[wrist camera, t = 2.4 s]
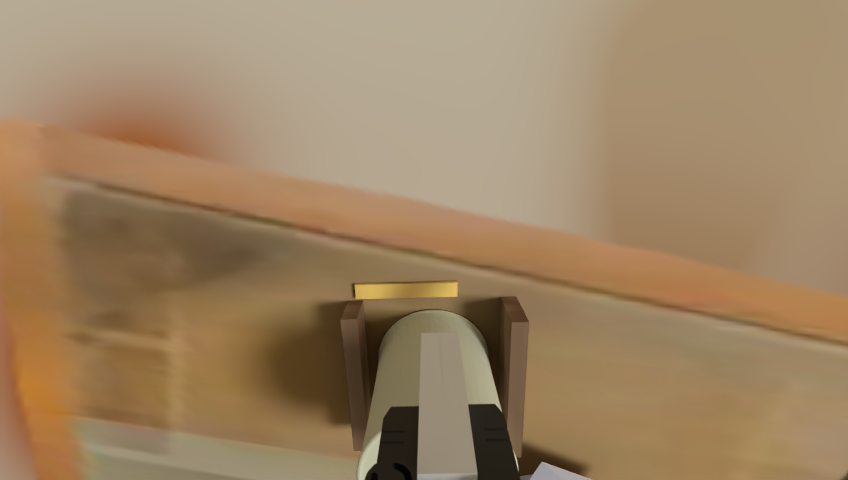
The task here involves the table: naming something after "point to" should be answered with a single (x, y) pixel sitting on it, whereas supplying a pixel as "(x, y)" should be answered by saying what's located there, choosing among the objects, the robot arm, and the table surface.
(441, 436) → the robot arm
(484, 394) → the can
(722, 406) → the table surface
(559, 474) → the wedge on round base
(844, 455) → the table surface
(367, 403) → the channel
